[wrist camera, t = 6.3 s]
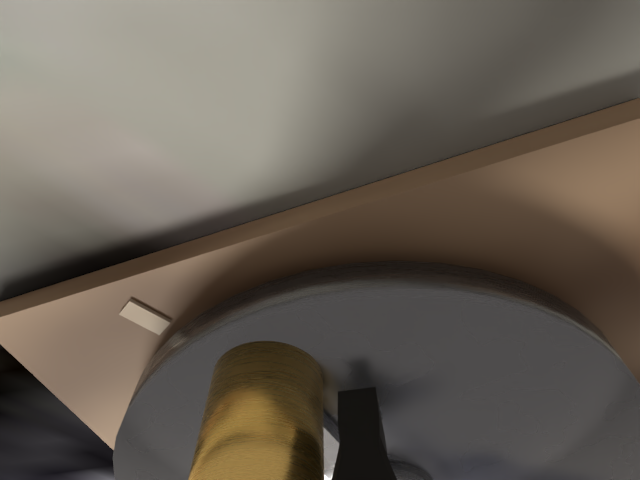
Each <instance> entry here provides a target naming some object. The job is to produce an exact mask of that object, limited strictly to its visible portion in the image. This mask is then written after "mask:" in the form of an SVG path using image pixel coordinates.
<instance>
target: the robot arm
mask: <svg viewBox="0 0 640 480" xmlns="http://www.w3.org/2000/svg"><path fill="white" fill-rule="evenodd" d="M338 431H339V439H340V443H339V449H338V454H337V458H336V463H335V467H334V471H333V476H332V480H397V478H396V476H395V474H394V471H393V469H392V466H391V464H390V461H389V459H388V455H387V448H386V441H385V435H384V429H383V424H382V418H381V413H380V407H379V402H378V397H377V391H376V387H370V388H362V389H354V390H346V391H338Z"/></svg>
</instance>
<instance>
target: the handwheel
mask: <svg viewBox="0 0 640 480" xmlns="http://www.w3.org/2000/svg"><path fill="white" fill-rule="evenodd" d="M370 387H376V391H377V397H378V402H379V407H380V413H381V418H382V424H383V429H384V435H385V441H386V448H387V455H388V459H389V461H390V464H391V466H392V469H393V471H394V474H395V476H396V478H397V480H640V384H639V382H638V381H637V380H636V378H635V377H634V375H633V374H632V373H631V371H630V370H629V368H628V367H627V366H626V364H625V363H624V361H623V360H622V359H621V357H620V356H619V355H618V353H617V352H616V350H615V349H614V348H613V346H612V345H611V344H610V342H609V341H608V340H607V338H606V337H605V335H604V334H603V333H602V331H601V330H600V329H599V328H597V327H596V326H595V325H594V324H593V323H592V322H591V321H590V320H589V319H588V318H586V317H585V316H584V315H583V314H582V313H581V312H580V311H578V310H577V309H575V308H573V307H572V306H570V305H569V304H567V303H565V302H564V301H562V300H561V299H559V298H558V297H556V296H554V295H553V294H551V293H548V292H546V291H544V290H541V289H539V288H537V287H535V286H532V285H530V284H528V283H525V282H523V281H521V280H518V279H514V278H511V277H507V276H504V275H500V274H497V273H493V272H490V271H486V270H483V269H477V268H471V267H465V266H459V265H452V264H446V263H438V262H418V261H398V260H397V261H379V262H361V263H350V264H344V265H338V266H331V267H325V268H319V269H313V270H308V271H304V272H301V273H297V274H294V275H290V276H286V277H283V278H279V279H275V280H272V281H269V282H266V283H264V284H261V285H259V286H256V287H254V288H251V289H249V290H246V291H244V292H241V293H239V294H236V295H234V296H232V297H230V298H228V299H226V300H224V301H223V302H221V303H219V304H217V305H215V306H214V307H212V308H210V309H208V310H206V311H205V312H203V313H201V314H200V315H198V316H197V317H196V318H194V319H193V320H192V321H190V322H189V323H188V324H186V325H185V326H184V327H182V328H181V329H180V330H178V331H177V332H176V333H175V334H174V335H173V336H172V337H171V338H170V339H169V340H168V341H167V342H166V343H165V344H164V345H163V346H162V347H161V348H160V349H159V350H158V351H157V352H156V353H155V355H154V356H153V358H152V359H151V361H150V362H149V364H148V365H147V367H146V368H145V369H144V371H143V372H142V374H141V376H140V378H139V381H138V383H137V386H136V388H135V390H134V393H133V395H132V398H131V400H130V403H129V405H128V408H127V410H126V413H125V415H124V418H123V420H122V423H121V425H120V428H119V431H118V433H117V436H116V440H115V446H114V453H113V466H114V477H115V480H332V476H333V471H334V467H335V463H336V458H337V454H338V449H339V443H340V439H339V431H338V391H346V390H354V389H362V388H370Z"/></svg>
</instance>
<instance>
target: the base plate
mask: <svg viewBox="0 0 640 480" xmlns="http://www.w3.org/2000/svg"><path fill="white" fill-rule="evenodd" d="M397 260H398V261H418V262H438V263H446V264H452V265H459V266H465V267H471V268H477V269H483V270H486V271H490V272H493V273H497V274H500V275H504V276H507V277H511V278H514V279H518V280H521V281H523V282H525V283H528V284H530V285H532V286H535V287H537V288H539V289H541V290H544V291H546V292H548V293H551V294H553V295H554V296H556V297H558V298H559V299H561V300H562V301H564V302H565V303H567V304H569V305H570V306H572V307H573V308H575V309H577V310H578V311H580V312H581V313H582V314H583V315H584V316H585V317H586V318H588V319H589V320H590V321H591V322H592V323H593V324H594V325H595V326H596V327H597V328H599V329H600V330H601V331H602V333H603V334H604V335H605V337H606V338H607V340H608V341H609V342H610V344H611V345H612V346H613V348H614V349H615V350H616V352H617V353H618V355H619V356H620V357H621V359H622V360H623V361H624V363H625V364H626V366H627V367H628V368H629V370H630V371H631V373H632V374H633V375H634V377H635V378H636V380H637V381H638V382H639V384H640V99H639V98H637V99H634V100H631V101H628V102H625V103H622V104H619V105H615V106H612V107H609V108H606V109H603V110H600V111H597V112H594V113H590V114H587V115H584V116H581V117H578V118H575V119H572V120H568V121H565V122H562V123H559V124H556V125H553V126H550V127H546V128H543V129H540V130H537V131H534V132H531V133H528V134H525V135H521V136H518V137H515V138H512V139H509V140H506V141H503V142H499V143H496V144H493V145H490V146H487V147H484V148H481V149H477V150H474V151H471V152H468V153H465V154H462V155H459V156H456V157H452V158H449V159H446V160H443V161H440V162H437V163H434V164H430V165H427V166H424V167H421V168H418V169H415V170H412V171H408V172H405V173H402V174H399V175H396V176H393V177H390V178H387V179H383V180H380V181H377V182H374V183H371V184H368V185H365V186H361V187H358V188H355V189H352V190H349V191H346V192H343V193H339V194H336V195H333V196H330V197H327V198H324V199H321V200H318V201H314V202H311V203H308V204H305V205H302V206H299V207H296V208H292V209H289V210H286V211H283V212H280V213H277V214H274V215H270V216H267V217H264V218H261V219H258V220H255V221H252V222H249V223H245V224H242V225H239V226H236V227H233V228H230V229H227V230H223V231H220V232H217V233H214V234H211V235H208V236H205V237H201V238H198V239H195V240H192V241H189V242H186V243H183V244H180V245H176V246H173V247H170V248H167V249H164V250H161V251H158V252H154V253H151V254H148V255H145V256H142V257H139V258H136V259H133V260H129V261H126V262H123V263H120V264H117V265H114V266H111V267H107V268H104V269H101V270H98V271H95V272H92V273H89V274H85V275H82V276H79V277H76V278H73V279H70V280H67V281H64V282H60V283H57V284H54V285H51V286H48V287H45V288H42V289H38V290H35V291H32V292H29V293H26V294H23V295H20V296H16V297H13V298H10V299H7V300H4V301H1V302H0V344H1V345H2V346H3V347H4V348H5V349H6V350H7V351H8V352H9V353H11V354H12V355H13V356H14V357H15V358H16V359H17V360H18V361H19V362H20V363H21V364H22V365H23V366H24V367H25V368H26V369H28V370H29V371H30V372H31V373H32V374H33V375H34V376H35V377H36V378H37V379H38V380H39V381H40V382H41V383H42V384H44V385H45V386H46V387H47V388H48V389H49V390H50V391H51V392H52V393H53V394H54V395H55V396H56V397H57V398H58V399H60V400H61V401H62V402H63V403H64V404H65V405H66V406H67V407H68V408H69V409H70V410H71V411H72V412H73V413H74V414H76V415H77V416H78V417H79V418H80V419H81V420H82V421H83V422H84V423H85V424H86V425H87V426H88V427H89V428H90V429H91V430H93V431H94V432H95V433H96V434H97V435H98V436H99V437H100V438H101V439H102V440H103V441H104V442H105V443H106V444H107V445H109V446H110V447H111V448H112V449H113V450H114V446H115V440H116V436H117V433H118V431H119V428H120V425H121V423H122V420H123V418H124V415H125V413H126V410H127V408H128V405H129V403H130V400H131V398H132V395H133V393H134V390H135V388H136V386H137V383H138V381H139V378H140V376H141V374H142V372H143V371H144V369H145V368H146V367H147V365H148V364H149V362H150V361H151V359H152V358H153V356H154V355H155V353H156V352H157V351H158V350H159V349H160V348H161V347H162V346H163V345H164V344H165V343H166V342H167V341H168V340H169V339H170V338H171V337H172V336H173V335H174V334H175V333H176V332H177V331H178V330H180V329H181V328H182V327H184V326H185V325H186V324H188V323H189V322H190V321H192V320H193V319H194V318H196V317H197V316H198V315H200V314H201V313H203V312H205V311H206V310H208V309H210V308H212V307H214V306H215V305H217V304H219V303H221V302H223V301H224V300H226V299H228V298H230V297H232V296H234V295H236V294H239V293H241V292H244V291H246V290H249V289H251V288H254V287H256V286H259V285H261V284H264V283H266V282H269V281H272V280H275V279H279V278H283V277H286V276H290V275H294V274H297V273H301V272H304V271H308V270H313V269H319V268H325V267H331V266H338V265H344V264H350V263H361V262H379V261H397Z"/></svg>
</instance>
